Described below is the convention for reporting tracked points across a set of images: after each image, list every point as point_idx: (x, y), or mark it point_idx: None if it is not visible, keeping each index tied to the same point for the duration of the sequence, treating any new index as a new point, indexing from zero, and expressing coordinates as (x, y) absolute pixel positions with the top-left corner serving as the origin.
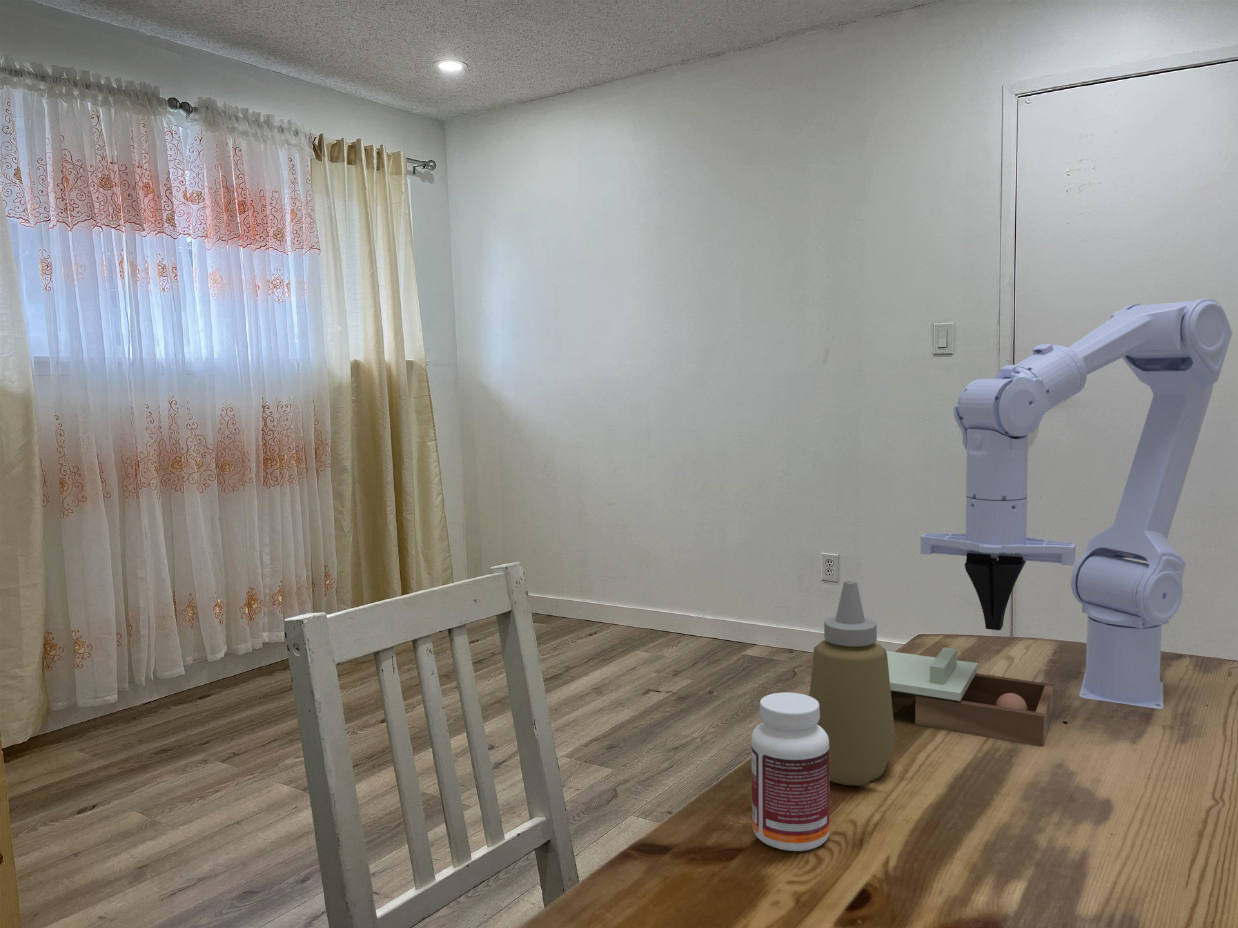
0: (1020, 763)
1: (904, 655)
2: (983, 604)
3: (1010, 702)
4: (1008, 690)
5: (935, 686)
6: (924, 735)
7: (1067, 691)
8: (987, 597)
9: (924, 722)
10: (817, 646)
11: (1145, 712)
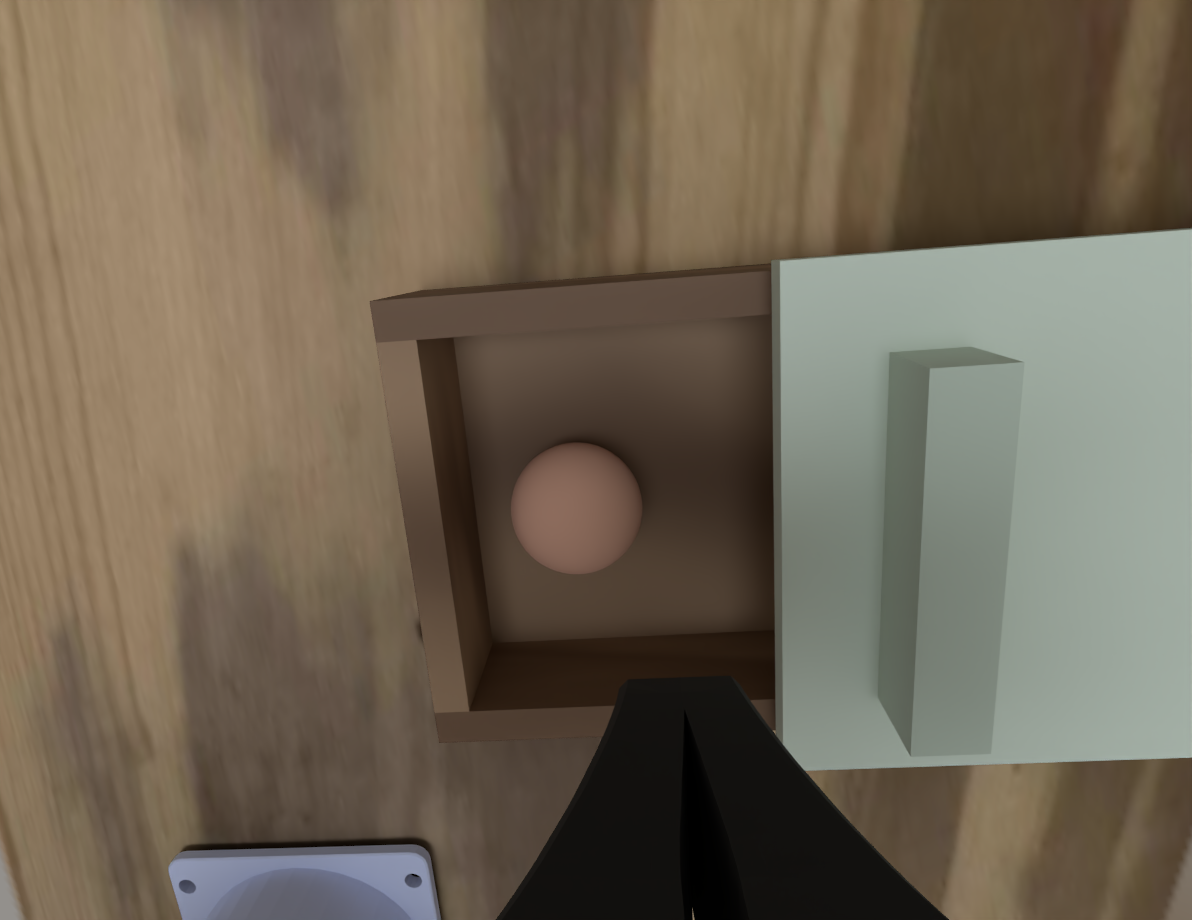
0: (466, 125)
1: (1171, 724)
2: (806, 805)
3: (567, 474)
4: (624, 674)
5: (929, 301)
6: (882, 212)
7: (486, 915)
8: (775, 876)
9: None
10: None
11: (226, 838)
